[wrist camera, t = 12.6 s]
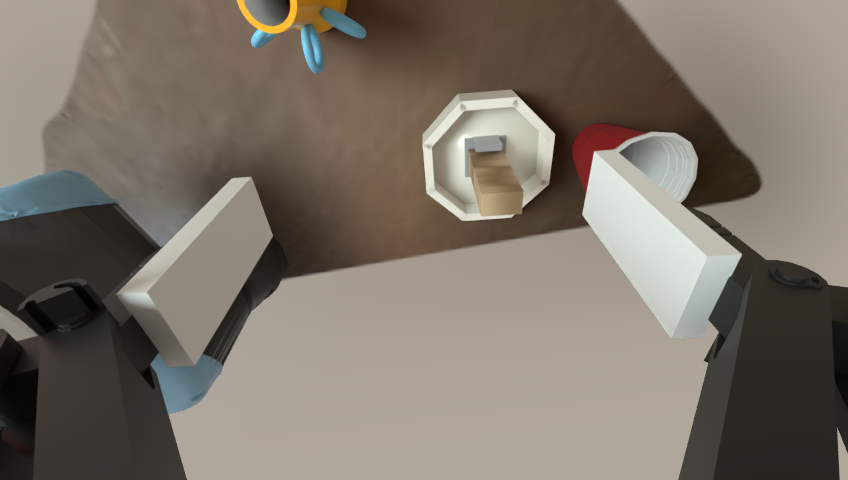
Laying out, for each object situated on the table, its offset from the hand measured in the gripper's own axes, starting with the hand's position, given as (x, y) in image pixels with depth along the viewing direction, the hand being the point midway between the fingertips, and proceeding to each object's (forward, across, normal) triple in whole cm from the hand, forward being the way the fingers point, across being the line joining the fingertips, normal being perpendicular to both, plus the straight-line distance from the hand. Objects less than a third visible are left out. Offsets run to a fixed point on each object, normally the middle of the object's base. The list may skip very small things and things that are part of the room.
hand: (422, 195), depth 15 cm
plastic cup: (+32, +21, -11) cm, 40 cm away
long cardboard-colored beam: (+31, +7, -11) cm, 33 cm away
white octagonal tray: (+32, +7, -11) cm, 34 cm away
